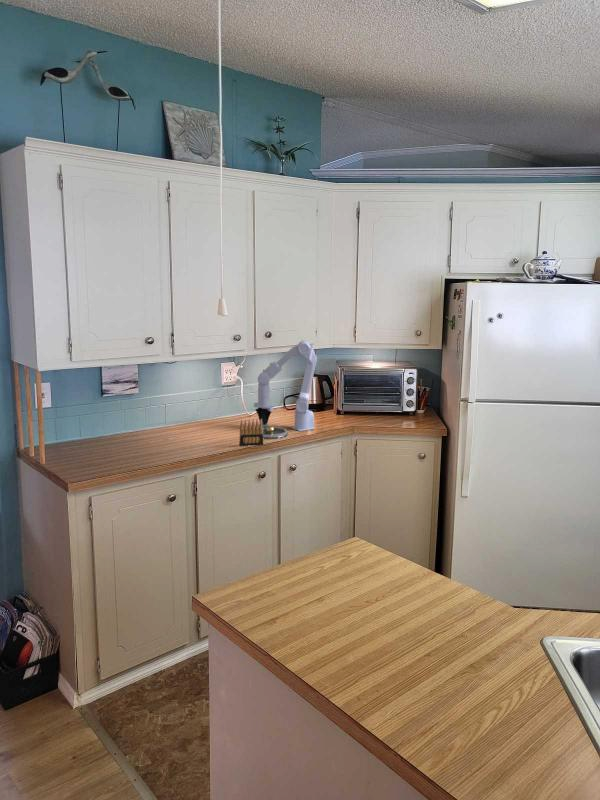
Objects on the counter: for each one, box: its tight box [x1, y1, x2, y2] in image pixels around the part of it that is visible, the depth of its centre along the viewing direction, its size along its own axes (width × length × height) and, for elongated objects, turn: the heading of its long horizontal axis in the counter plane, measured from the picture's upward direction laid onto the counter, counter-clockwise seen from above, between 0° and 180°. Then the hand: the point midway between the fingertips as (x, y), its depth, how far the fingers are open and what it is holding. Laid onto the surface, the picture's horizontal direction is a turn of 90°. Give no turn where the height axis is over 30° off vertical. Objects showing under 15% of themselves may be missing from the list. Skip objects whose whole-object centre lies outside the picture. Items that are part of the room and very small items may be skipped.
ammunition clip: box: [238, 418, 264, 447], centre depth 295 cm, size 11×2×12 cm, turn 106°
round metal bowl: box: [262, 426, 289, 440], centre depth 315 cm, size 17×17×4 cm
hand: (263, 423), depth 328 cm, fingers closed on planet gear, 2 cm apart
